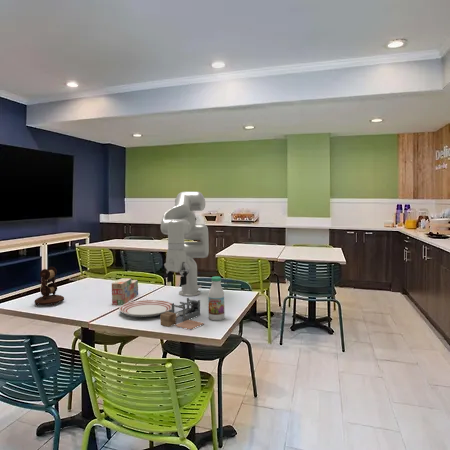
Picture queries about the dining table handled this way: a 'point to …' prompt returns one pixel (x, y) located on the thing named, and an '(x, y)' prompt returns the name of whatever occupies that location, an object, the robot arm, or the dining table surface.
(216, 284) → the milk bottle
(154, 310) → the dinner plate
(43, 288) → the wooden spool stand
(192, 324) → the coaster
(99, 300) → the dining table surface
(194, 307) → the plunger
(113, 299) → the stack of blocks
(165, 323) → the cube
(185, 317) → the cage
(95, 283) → the dining table surface
